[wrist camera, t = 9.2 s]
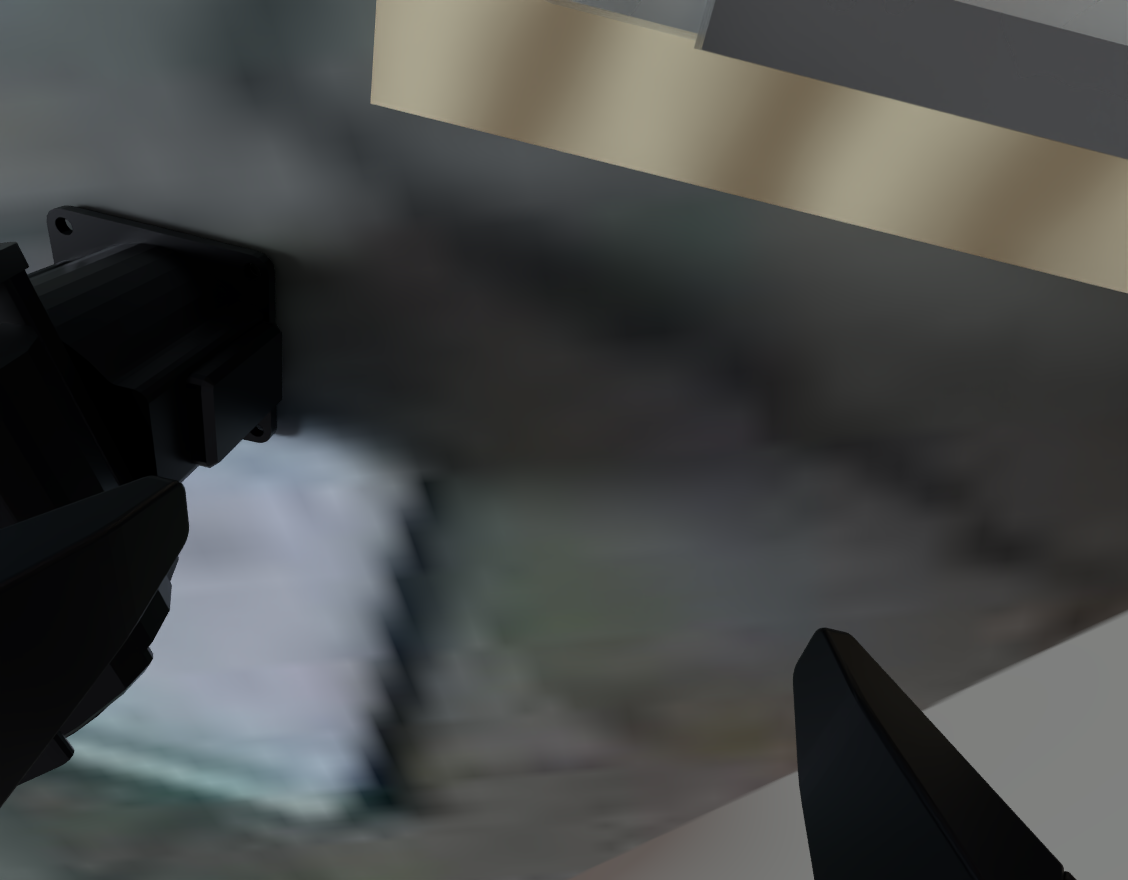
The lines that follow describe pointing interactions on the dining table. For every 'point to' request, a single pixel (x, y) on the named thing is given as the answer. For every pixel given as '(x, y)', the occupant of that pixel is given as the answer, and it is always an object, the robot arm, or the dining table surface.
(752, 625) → the dining table surface
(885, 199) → the mounting board
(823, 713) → the robot arm
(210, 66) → the dining table surface
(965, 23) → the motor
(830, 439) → the dining table surface
